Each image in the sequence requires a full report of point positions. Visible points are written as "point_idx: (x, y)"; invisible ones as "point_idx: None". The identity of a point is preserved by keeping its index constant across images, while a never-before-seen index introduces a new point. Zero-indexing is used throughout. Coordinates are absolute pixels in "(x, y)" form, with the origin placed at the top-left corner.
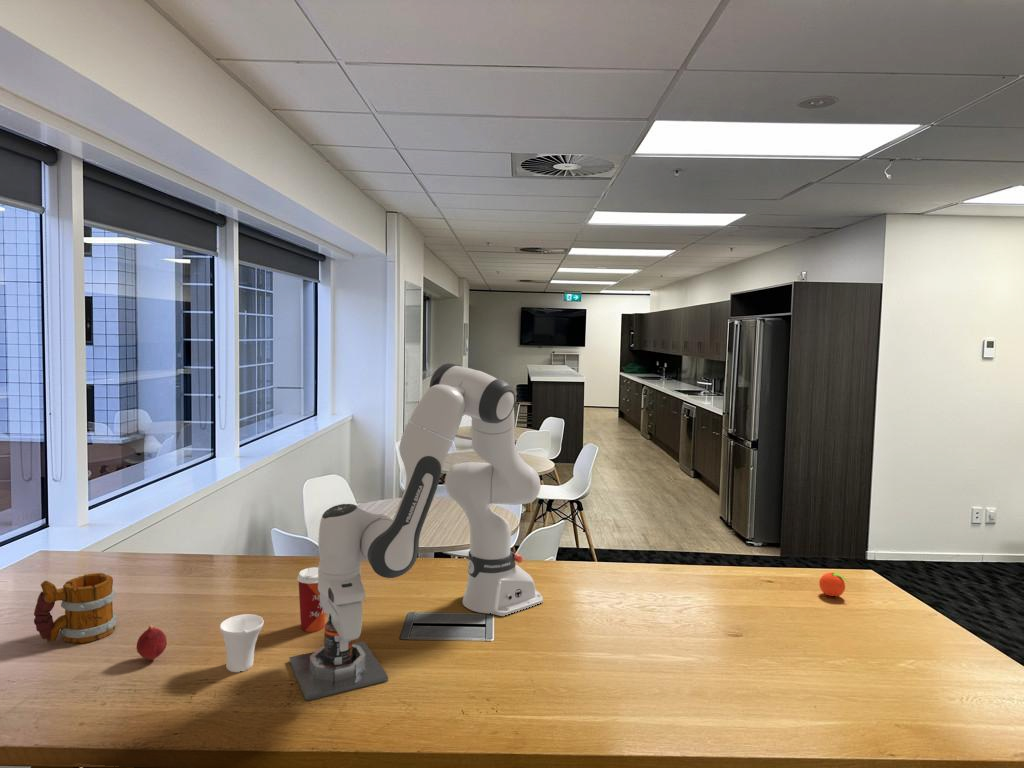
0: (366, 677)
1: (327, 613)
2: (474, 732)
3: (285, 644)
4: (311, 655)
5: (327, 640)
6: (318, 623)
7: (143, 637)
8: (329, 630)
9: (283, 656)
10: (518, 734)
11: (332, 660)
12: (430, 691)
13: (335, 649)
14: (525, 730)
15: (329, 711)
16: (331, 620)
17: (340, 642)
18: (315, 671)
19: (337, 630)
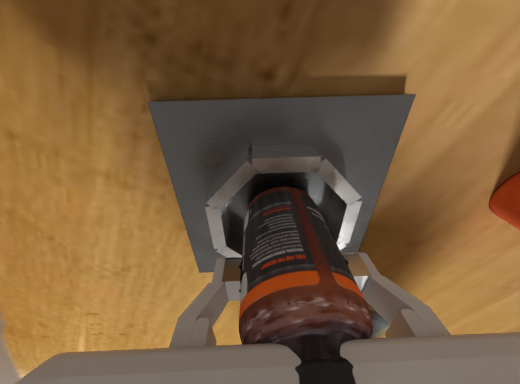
0: (207, 244)
1: (406, 373)
2: (39, 312)
3: (515, 101)
4: (326, 163)
5: (272, 251)
6: (513, 210)
7: None
8: (268, 305)
9: (450, 80)
10: (40, 337)
11: (252, 212)
12: (153, 298)
13: (245, 245)
14: (50, 342)
15: (97, 149)
16: (296, 373)
17: (201, 292)
18: (247, 155)
19: (140, 378)
